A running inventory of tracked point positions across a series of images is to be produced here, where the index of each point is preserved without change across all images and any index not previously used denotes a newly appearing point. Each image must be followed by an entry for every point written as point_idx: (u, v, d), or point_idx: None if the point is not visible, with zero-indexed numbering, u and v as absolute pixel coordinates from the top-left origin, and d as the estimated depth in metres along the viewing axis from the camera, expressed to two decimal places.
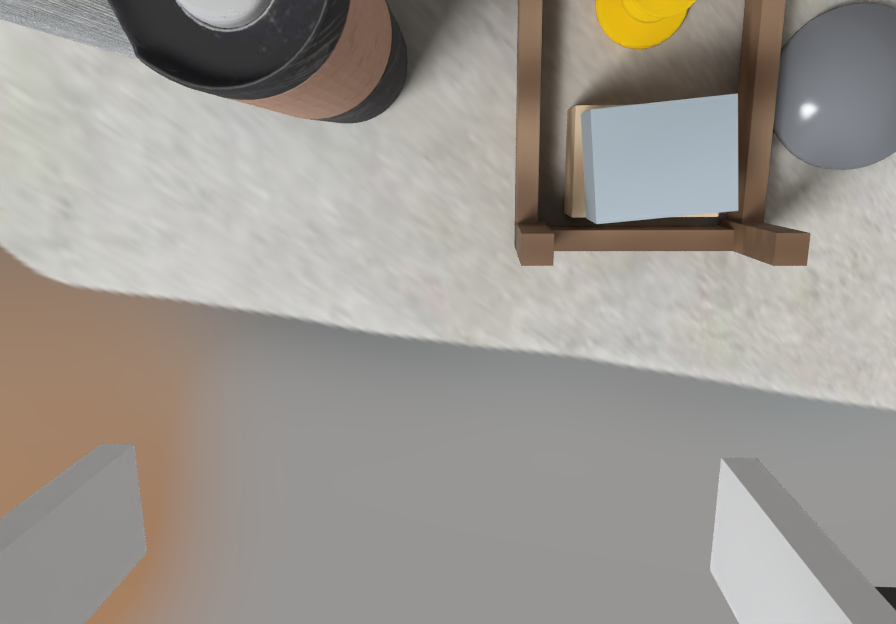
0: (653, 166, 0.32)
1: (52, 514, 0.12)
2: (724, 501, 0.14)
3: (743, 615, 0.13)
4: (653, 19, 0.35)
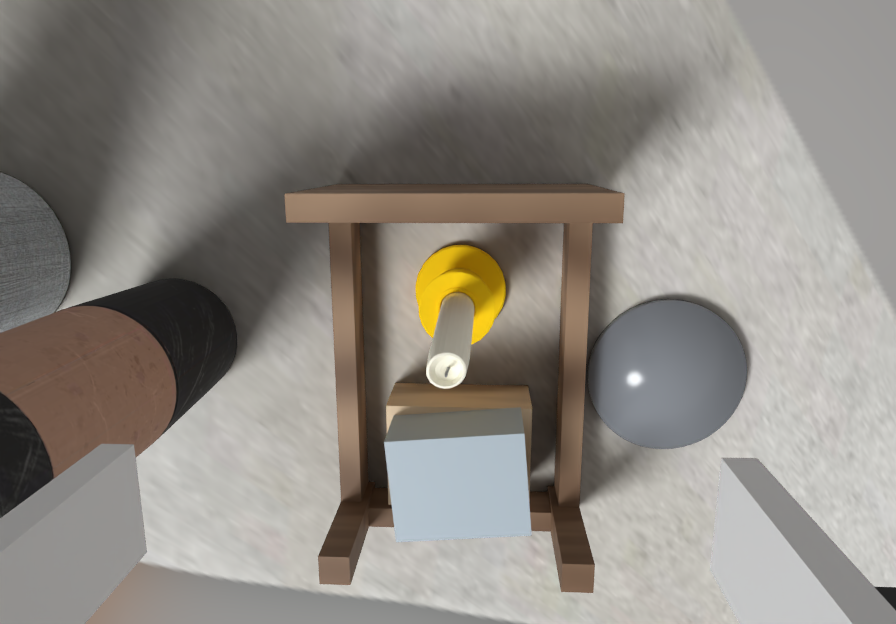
0: (447, 494, 0.33)
1: (52, 514, 0.12)
2: (724, 501, 0.14)
3: (743, 615, 0.13)
4: None
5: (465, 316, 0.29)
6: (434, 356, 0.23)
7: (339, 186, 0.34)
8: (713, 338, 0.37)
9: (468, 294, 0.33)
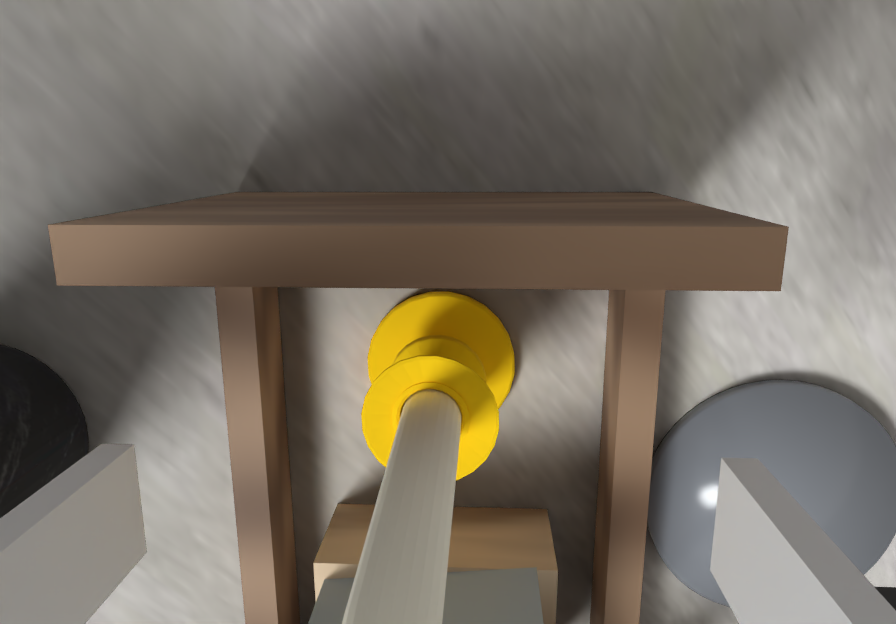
0: None
1: (52, 514, 0.12)
2: (724, 502, 0.14)
3: (743, 615, 0.13)
4: None
5: (440, 467, 0.14)
6: None
7: (225, 198, 0.19)
8: (854, 444, 0.23)
9: (450, 394, 0.18)
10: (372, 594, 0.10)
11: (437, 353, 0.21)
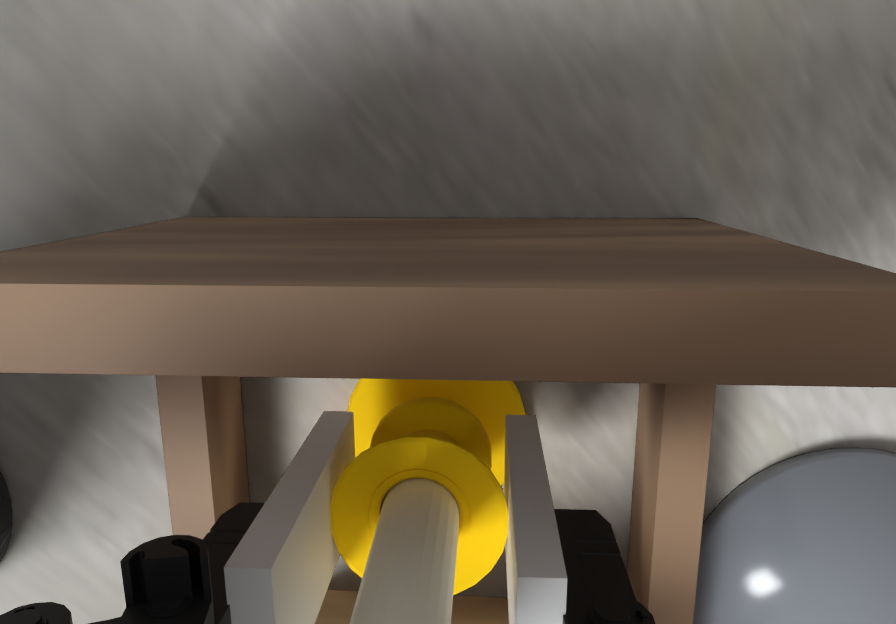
0: None
1: (327, 465, 0.14)
2: (505, 451, 0.16)
3: (506, 544, 0.15)
4: None
5: (427, 622, 0.10)
6: None
7: (160, 227, 0.15)
8: None
9: (445, 484, 0.14)
10: None
11: (430, 421, 0.16)
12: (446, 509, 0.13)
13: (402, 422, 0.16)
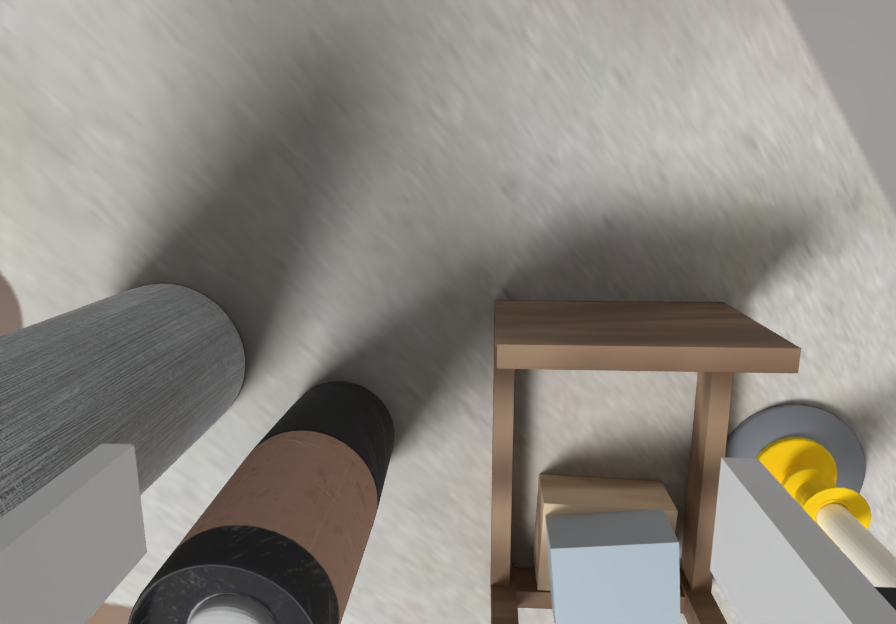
0: (605, 594, 0.37)
1: (52, 514, 0.12)
2: (724, 502, 0.14)
3: (743, 615, 0.13)
4: None
5: None
6: None
7: (508, 311, 0.38)
8: (835, 440, 0.41)
9: (845, 505, 0.36)
10: None
11: (814, 477, 0.39)
12: (851, 515, 0.36)
13: (801, 477, 0.39)
